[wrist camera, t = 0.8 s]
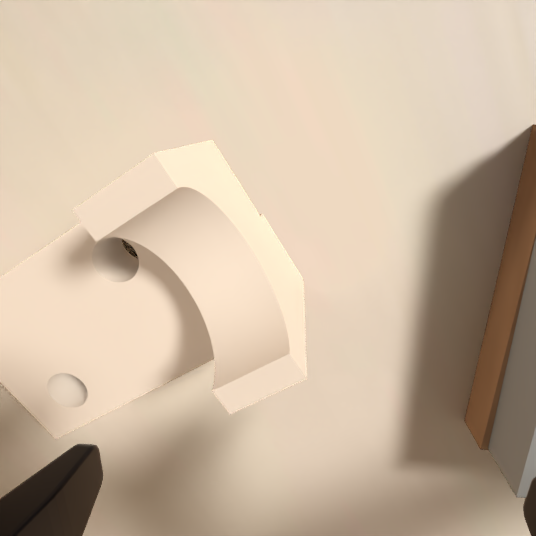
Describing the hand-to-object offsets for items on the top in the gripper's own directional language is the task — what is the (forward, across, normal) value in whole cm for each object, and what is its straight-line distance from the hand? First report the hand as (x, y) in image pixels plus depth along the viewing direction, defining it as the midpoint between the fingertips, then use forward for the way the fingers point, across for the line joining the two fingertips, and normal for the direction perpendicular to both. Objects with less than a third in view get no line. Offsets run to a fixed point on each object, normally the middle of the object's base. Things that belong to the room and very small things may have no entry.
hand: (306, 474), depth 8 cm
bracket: (+11, +7, 0) cm, 13 cm away
